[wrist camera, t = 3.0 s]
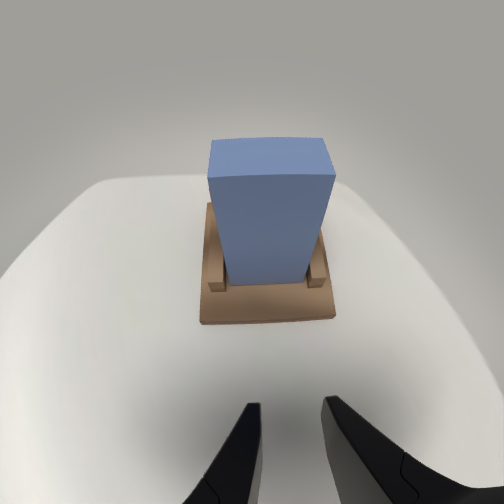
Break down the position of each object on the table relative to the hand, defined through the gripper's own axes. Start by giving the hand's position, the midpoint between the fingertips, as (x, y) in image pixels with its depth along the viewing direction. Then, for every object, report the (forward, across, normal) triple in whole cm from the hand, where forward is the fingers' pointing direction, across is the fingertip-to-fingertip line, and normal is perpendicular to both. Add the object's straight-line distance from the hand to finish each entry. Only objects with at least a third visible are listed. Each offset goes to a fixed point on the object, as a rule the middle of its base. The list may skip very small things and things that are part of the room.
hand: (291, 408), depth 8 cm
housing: (+18, 0, 0) cm, 18 cm away
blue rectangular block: (+16, 0, 0) cm, 16 cm away
